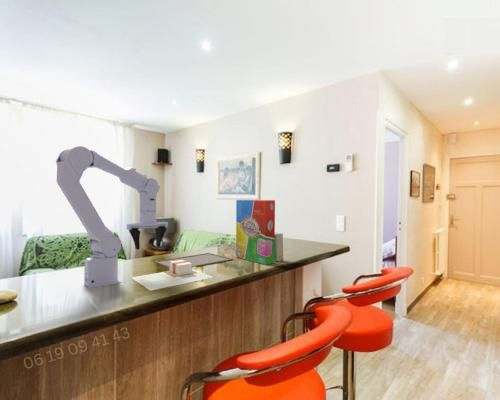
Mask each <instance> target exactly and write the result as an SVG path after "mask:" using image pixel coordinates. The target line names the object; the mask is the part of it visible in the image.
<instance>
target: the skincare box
mask: <svg viewBox="0 0 500 400" xmlns="http://www.w3.org/2000/svg"><path fill="white" fill-rule="evenodd" d="M283 234H284V233H282V232H281V233H280V232H275V262H276V261H278V262H282V261H281V260H283V261H284V238H283V237H284V235H283Z"/></svg>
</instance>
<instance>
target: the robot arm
mask: <svg viewBox="0 0 500 400" xmlns="http://www.w3.org/2000/svg"><path fill="white" fill-rule="evenodd" d="M55 163H56V183H57V186H59V188H60V191H61V192H62V194H63V195H64V197H65V199H66V200H67V202H68V204H69V205H70V207H71V208H72V209H73V211H74V213H75V215H76V216H77V217H78V219H79V220H80V222H81V224H82V226H83V227H84V228H85V229H84V230H86V232H87V235H86V238H87V239H88V241H89V248H90V251H92V252H93V254H92V256H90V257H87V258H85V259H84V267H83V268H84V274H83V275H84V278H83V279H84V280H83V281H84V282H83V284H84V285H86V287H87V288H88V289H93V288H98V287H105V286H110V285H116V284H121V283H122V280H120V279H119V278H118V275H119V274H118V273H119V272H118V269H119V268H118V266H119V264H118V260H119V258H118V256H119V255H118V254H119V253H120V252H121V249H122V241H121V239H120V238H119V237H117V236H115V235H114V234H113V231H112V230H111V229H110V228H108V227H107V226H106V225H105V223H104V222H103V220H102V218H101V217H100V215H99V212H98V211H97V210H96V208H95V206H94V205H93V203H92V201H91V200H90V198H89V196H88V194H87V192H86V190H85V189H84V187H83V185H82V184H81V182H80V180H81V178H82V177H83V173H84V172H85V171H86V170H87V169H88V168H90V169H91V168H96V169H99V170H100V171H103V172H105V173H108V174H110V175H113V176H115V177H117V178H119V182H120V183H122V184H124V185H125V186H128V187H130V188H132V189H135V190H136V191H137V193H138V194H139V222H135V223H134V222H133V223H126V230H128V231H129V233H130V235H131V237H132V240H133V243H134V248H135V249H136V250H140V249H141V248H140V236H141V229H142V230H143V229H154V230H155V246H156V247H157V248H161V244H162V241H163V238H164V235H165V233H166V232H167V228H168V227H169V222H168V221H157V197H158V192H159V191H160V185H159V183H158V181H157V180H156V179H155V178H153V177H151V178H150V177H148V175H146V174H142V173H140V172H138V171H137V168H134V167H126V168H123V167H121V165H120V166H119V165H118V164H117V163H114V162H112V161H111V160H109V159H108V158H105V157H104V156H102V155H100V154H99V153H98V152H96V151H95V150H92V149H89V148H87V147H85V146H82V145H81V146H78V145H77V146H75V147H72V148H69V149H64V150H61V152H60V153H59V155H58V157H57V158H56V160H55ZM139 229H140V230H139Z"/></svg>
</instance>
